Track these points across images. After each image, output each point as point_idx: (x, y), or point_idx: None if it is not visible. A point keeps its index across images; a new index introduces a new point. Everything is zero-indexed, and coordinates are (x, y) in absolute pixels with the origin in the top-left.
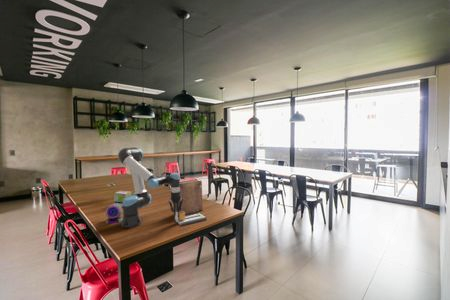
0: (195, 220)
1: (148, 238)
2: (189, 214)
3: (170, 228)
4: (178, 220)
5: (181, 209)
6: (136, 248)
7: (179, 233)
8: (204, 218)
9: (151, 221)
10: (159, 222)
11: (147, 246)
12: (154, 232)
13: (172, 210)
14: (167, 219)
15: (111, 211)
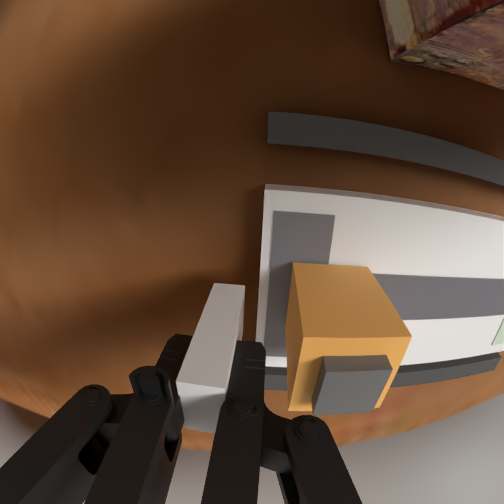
0: (416, 378)
1: (22, 363)
2: (499, 163)
3: (139, 349)
4: (267, 293)
5: (479, 44)
6: (10, 392)
7: (188, 438)
8: (484, 369)
9: (31, 51)
10: (70, 114)
11: (40, 412)
12: (32, 323)
13: (97, 451)
14: (183, 54)
15: None
